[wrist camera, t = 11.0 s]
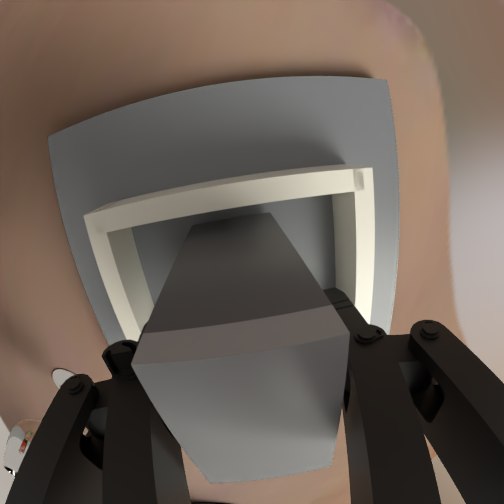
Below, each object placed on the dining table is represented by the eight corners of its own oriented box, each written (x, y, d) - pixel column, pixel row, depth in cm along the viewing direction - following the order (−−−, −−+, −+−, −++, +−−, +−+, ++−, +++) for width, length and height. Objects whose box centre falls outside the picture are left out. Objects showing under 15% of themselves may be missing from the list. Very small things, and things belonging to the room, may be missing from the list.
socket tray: (141, 388, 20) (131, 426, 16) (57, 136, 13) (16, 137, 9) (378, 350, 20) (400, 383, 16) (377, 83, 13) (416, 69, 9)
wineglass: (109, 399, 20) (76, 506, 9) (77, 408, 21) (44, 497, 9) (65, 356, 18) (8, 463, 7) (38, 371, 19) (-10, 458, 8)
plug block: (214, 323, 16) (210, 483, 6) (192, 225, 14) (130, 364, 4) (282, 312, 16) (330, 466, 7) (270, 212, 14) (349, 332, 5)
